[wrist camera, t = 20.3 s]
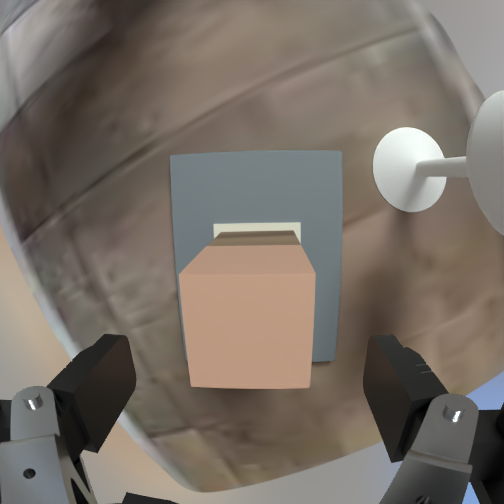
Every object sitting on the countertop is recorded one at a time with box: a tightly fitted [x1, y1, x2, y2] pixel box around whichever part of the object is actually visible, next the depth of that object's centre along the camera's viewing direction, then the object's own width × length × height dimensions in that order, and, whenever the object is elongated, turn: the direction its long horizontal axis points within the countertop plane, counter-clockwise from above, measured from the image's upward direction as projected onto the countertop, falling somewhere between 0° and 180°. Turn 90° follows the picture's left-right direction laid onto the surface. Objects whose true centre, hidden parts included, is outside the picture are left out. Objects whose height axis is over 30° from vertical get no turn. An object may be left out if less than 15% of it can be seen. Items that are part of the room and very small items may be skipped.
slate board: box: [170, 150, 343, 362], centre depth 24 cm, size 16×12×1 cm
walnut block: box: [208, 230, 301, 246], centre depth 20 cm, size 5×5×6 cm
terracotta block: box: [179, 245, 316, 389], centre depth 15 cm, size 5×5×6 cm
